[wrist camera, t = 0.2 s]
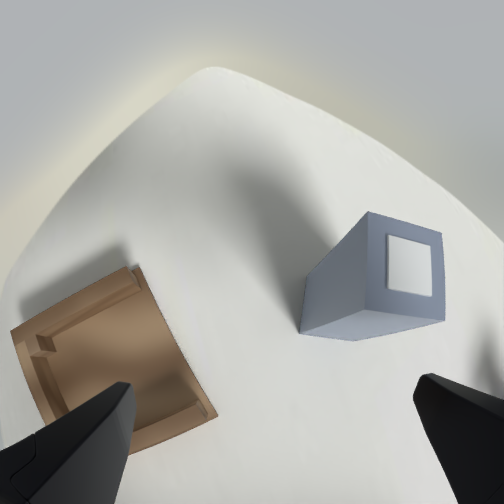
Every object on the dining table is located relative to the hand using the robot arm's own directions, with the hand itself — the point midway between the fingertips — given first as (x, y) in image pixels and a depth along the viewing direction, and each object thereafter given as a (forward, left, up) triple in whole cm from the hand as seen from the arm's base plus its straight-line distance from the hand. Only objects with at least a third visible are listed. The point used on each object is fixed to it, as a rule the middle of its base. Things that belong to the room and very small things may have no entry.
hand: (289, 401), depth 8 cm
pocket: (+5, +9, -13) cm, 16 cm away
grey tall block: (+1, -8, -13) cm, 15 cm away
